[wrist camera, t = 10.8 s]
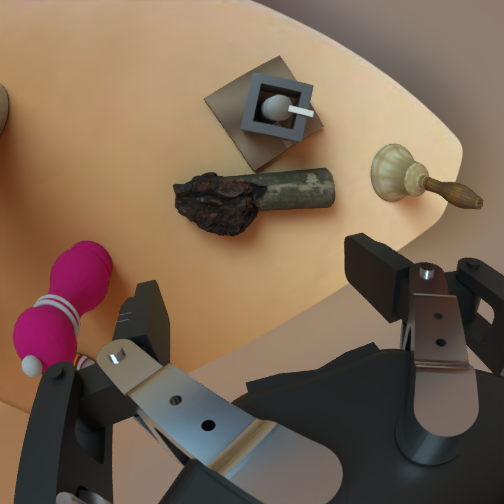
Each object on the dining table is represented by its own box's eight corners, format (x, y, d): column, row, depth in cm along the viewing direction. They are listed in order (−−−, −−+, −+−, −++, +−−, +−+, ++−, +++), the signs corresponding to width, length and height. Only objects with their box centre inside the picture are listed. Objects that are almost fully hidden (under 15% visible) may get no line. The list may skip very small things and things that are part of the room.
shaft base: (203, 99, 30) (207, 92, 24) (277, 57, 29) (294, 44, 24) (252, 170, 34) (265, 177, 29) (320, 126, 33) (344, 126, 28)
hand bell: (421, 181, 39) (503, 210, 25) (384, 212, 40) (464, 254, 25) (401, 133, 36) (490, 147, 21) (360, 163, 36) (449, 188, 22)
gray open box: (253, 81, 29) (252, 71, 25) (311, 93, 29) (319, 86, 25) (242, 131, 31) (240, 128, 27) (300, 143, 31) (307, 143, 27)
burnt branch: (319, 165, 36) (341, 172, 31) (318, 216, 38) (338, 231, 33) (173, 173, 32) (170, 182, 27) (178, 229, 35) (178, 247, 30)
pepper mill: (111, 234, 33) (50, 337, 15) (120, 287, 36) (83, 409, 18) (60, 238, 32) (-23, 332, 14) (71, 289, 35) (14, 400, 16)
